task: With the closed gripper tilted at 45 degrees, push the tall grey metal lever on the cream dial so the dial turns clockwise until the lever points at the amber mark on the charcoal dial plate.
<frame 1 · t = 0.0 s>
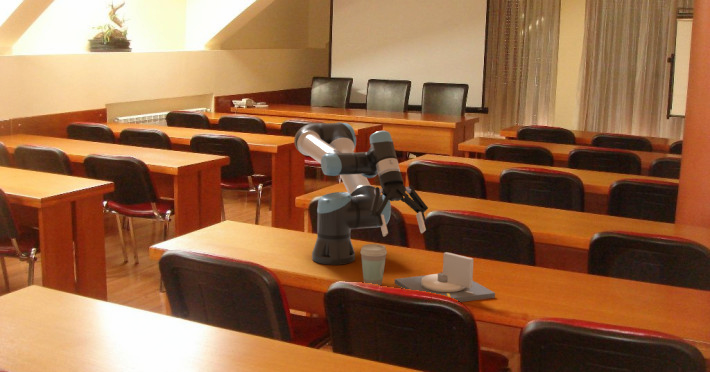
hand: (404, 233, 256), 15 cm above the table, tool tilted 35°, fingers open, 13 cm apart
coffee cup: (372, 283, 253), on the table
dial plate: (443, 290, 247), on the table
dial: (448, 269, 245), point 7 cm above the table, hinge at 0.0°
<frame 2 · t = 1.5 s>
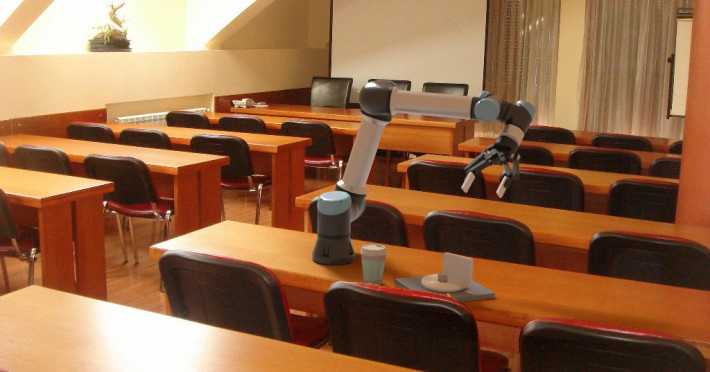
hand: (480, 192, 254), 29 cm above the table, tool tilted 45°, fingers open, 13 cm apart
nothing on the table moved.
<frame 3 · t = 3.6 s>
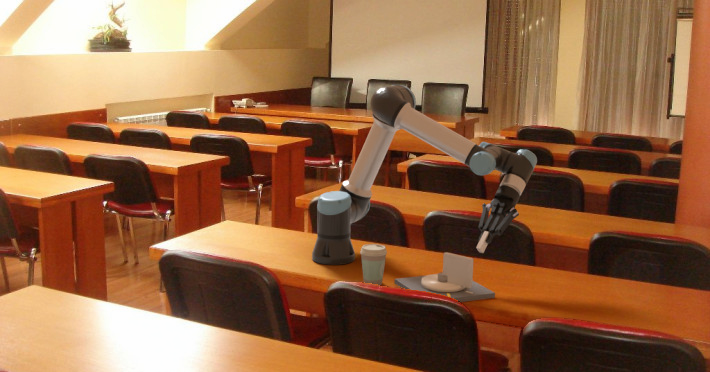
hand: (479, 250, 249), 12 cm above the table, tool tilted 45°, fingers closed
nothing on the table moved.
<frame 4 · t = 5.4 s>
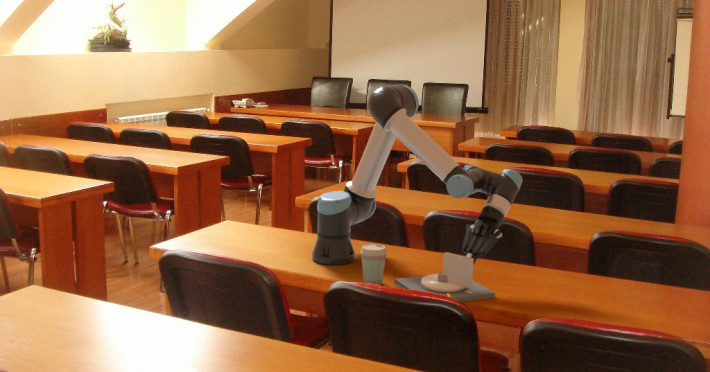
hand: (462, 273, 244), 6 cm above the table, tool tilted 45°, fingers closed
dial: (448, 269, 245), point 7 cm above the table, hinge at -0.2°, touching gripper
everything else where it was.
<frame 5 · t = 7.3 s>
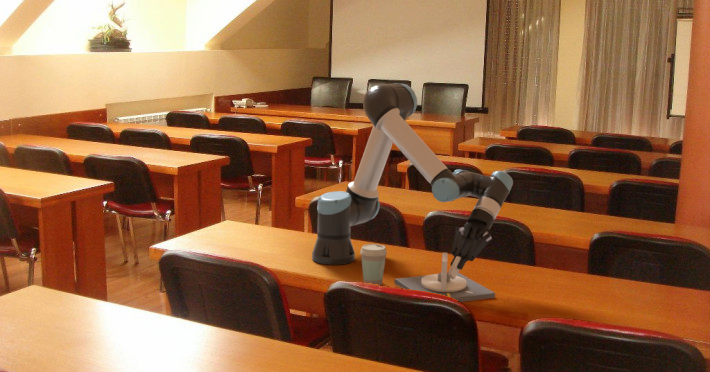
hand: (450, 276, 240), 6 cm above the table, tool tilted 45°, fingers closed
dial: (444, 270, 244), point 7 cm above the table, hinge at -54.8°, touching gripper
everything else where it was.
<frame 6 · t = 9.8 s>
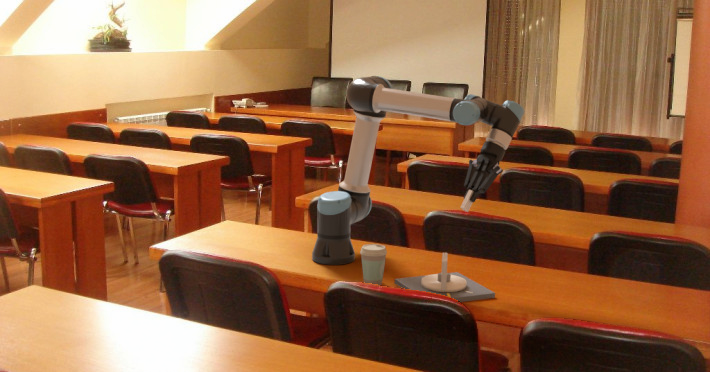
hand: (464, 209, 253), 24 cm above the table, tool tilted 35°, fingers closed
dial: (444, 270, 244), point 7 cm above the table, hinge at -54.8°
everything else where it was.
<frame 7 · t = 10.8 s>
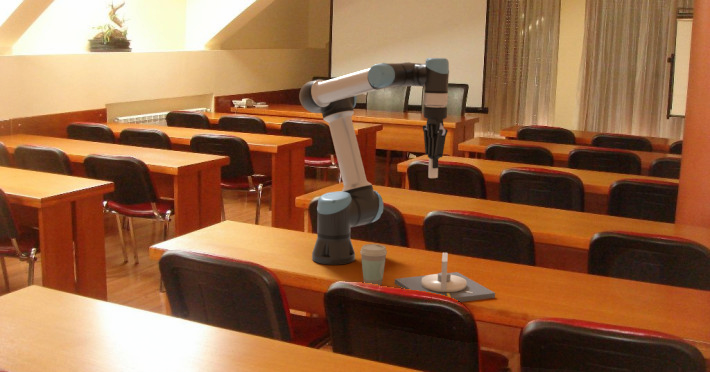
hand: (432, 177, 260), 32 cm above the table, tool pointing down, fingers closed
nothing on the table moved.
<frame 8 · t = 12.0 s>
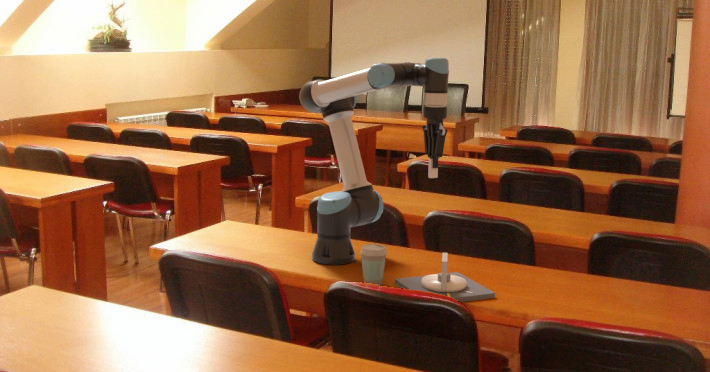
hand: (432, 177, 260), 32 cm above the table, tool pointing down, fingers closed
nothing on the table moved.
at the end: dial at -55° (first picture: +0°); coffee cup tilted 0°; coffee cup moved 0.2 cm from its start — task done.
